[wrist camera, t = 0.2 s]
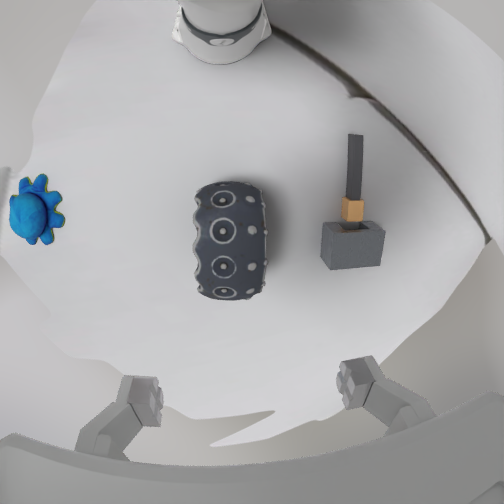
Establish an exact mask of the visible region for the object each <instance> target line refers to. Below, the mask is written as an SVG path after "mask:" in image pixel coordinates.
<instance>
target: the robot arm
mask: <svg viewBox="0 0 504 504" xmlns="http://www.w3.org/2000/svg"><path fill="white" fill-rule="evenodd" d="M177 1H178V4H179V5H180V7H179V10H178V11H177V17H176V21H175V25H174V29H173V32H172V39H173V40H174V41H175V42H177V43H179V44H182V45H184V46H185V47H186V48H187V49H188V50H189V51H190V53H191V54H192V55H194V56H195V57H196V58H198V59H200V60H202V61H204V62H207V63H211V64H228V63H233V62H236V61H238V60H241V59H242V58H244V57H246V56H247V55H248V54H250V53H251V52H252V51H253V49H254V48H255V47H256V45H257V44H258V43H259V42H261V41H263V40H265V39H266V38H268V37H269V36H270V35H271V27H270V24H269V20H268V17H267V13H266V10H265V7H264V3H263V0H177ZM265 27H266V28H265ZM339 368H340V370H341V371H340V372H339V373H338V374H337V378H336V382H337V388H338V391H339V392H340V393H341V394H343V398H342V401H343V403H344V405H345V408H346V410H349V409H354V408H359V407H363V408H365V409H366V410H367V411H368V412H370V413H371V414H372V415H374V416H375V417H376V418H378V419H379V420H380V421H381V422H383V423H384V424H385V425H387V426H388V427H389V428H388V430H387V431H386V433H385V435H384V436H383V437H382V438H379V439H376V440H372V441H369V442H366V443H362V444H359V445H355V446H351V447H348V448H344V449H340V450H335V451H332V452H327V453H322V454H317V455H312V456H307V457H301V458H296V459H289V460H282V461H275V462H266V463H256V464H244V465H227V466H178V465H161V464H149V463H139V462H131V461H130V460H129V459H128V458H127V457H126V456H125V454H124V453H123V450H124V449H125V448H126V447H127V446H128V444H129V443H130V442H131V441H132V440H133V438H134V437H135V436H136V435H137V433H138V432H139V431H140V430H141V429H142V426H150V427H152V426H153V427H160V425H161V418H162V414H161V412H160V410H161V409H162V408H163V402H164V401H163V392H162V389H161V388H160V387H159V386H158V384H159V381H158V379H157V377H149V376H131V375H124V377H123V378H122V381H121V385H120V388H119V391H118V395H117V399H116V402H112V403H111V404H110V405H109V406H107V407H106V408H105V409H104V410H103V411H102V412H101V413H100V414H98V415H97V416H96V417H95V418H94V419H92V420H91V421H90V422H89V423H88V424H87V425H86V426H84V427H83V428H82V429H81V430H80V433H79V436H78V440H77V443H76V447H75V450H74V451H72V450H68V449H64V448H60V447H57V446H54V445H50V444H46V443H43V442H40V441H38V440H35V439H32V438H29V437H26V436H23V435H21V434H17V433H12V434H10V435H8V436H6V437H4V438H3V439H1V440H0V504H504V396H503V395H500V394H498V393H496V392H493V391H486V392H483V393H481V394H480V395H478V396H476V397H474V398H472V399H471V400H469V401H467V402H465V403H463V404H461V405H459V406H457V407H455V408H453V409H451V410H449V411H447V412H445V413H443V414H441V415H438V416H436V414H435V413H434V411H433V409H432V408H431V406H430V404H429V403H428V401H427V399H426V398H424V397H422V396H420V395H419V394H417V393H415V392H413V391H411V390H409V389H407V388H405V387H404V386H402V385H400V384H398V383H396V382H395V381H393V380H391V379H389V378H388V379H386V378H385V376H384V374H383V373H382V371H381V369H380V367H379V366H378V364H377V362H376V361H375V359H374V357H373V356H366V357H362V358H356V359H351V360H346V361H342V362H341V363H340V366H339Z"/></svg>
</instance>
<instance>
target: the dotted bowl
mask: <svg viewBox="0 0 504 504" xmlns="http://www.w3.org/2000/svg"><path fill="white" fill-rule="evenodd" d="M195 201H196V203H197V205H198V208H197V210H196V211H195V213H194V214H193V223H194V225H195V226H196V229H197V238H196V240H195V242H194V243H193V253H194V255H195V256H196V258H197V260H198V267H197V269H196V271H195V273H194V274H195V279H196V281H197V282H198V283H199V284H200V285H199V287H198V288H197V290H198V292H199V293H201V294H202V295H204V296H207V297H209V298H213V299H217V300H240V299H245V300H249V299H250V298H251V297H252V296H253V295H255V294H257V293H260V292H261V291H262V288H263V286H265V281H264V279H265V270H266V265H267V263H268V261H267V259H266V236H267V234H268V230H267V229H266V219H265V207H266V204H265V203H264V202H263V197H262V190H261V189H256V188H255V187H253V186H252V185H251V184H249V183H240V182H217V183H213V184H210V185H207V186H205V187H203V188H201V189H199V190H198V191H197V194H196V195H195Z"/></svg>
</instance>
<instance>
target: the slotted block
mask: <svg viewBox="0 0 504 504" xmlns="http://www.w3.org/2000/svg"><path fill="white" fill-rule="evenodd" d="M384 238H385V230H383V229H382V228H380V227H379V226H378V225H376V224H375V223H373V222H372V221H361V222H360V228H359V230H344V229H343V228H342V227H341V226H339V225H338V224H337V223H336V222H329V223H323V229H322V243H321V256H320V257H321V258H322V260H323V261H324V262H325V264H326V265H327V267H328V268H329V269H330V270H338V269H349V268H360V267H371V266H380V262H381V257H382V251H383V244H384Z"/></svg>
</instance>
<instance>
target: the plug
mask: <svg viewBox="0 0 504 504" xmlns="http://www.w3.org/2000/svg"><path fill="white" fill-rule="evenodd" d="M362 163H363V135H354V134H348V168H347V188H346V197H343V198H342V212H341V217H342V218H343V219H345V220H346V221H347V222H353V221H362V220H363V210H364V201H363V200H362V199H360V196H361V181H362Z"/></svg>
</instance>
